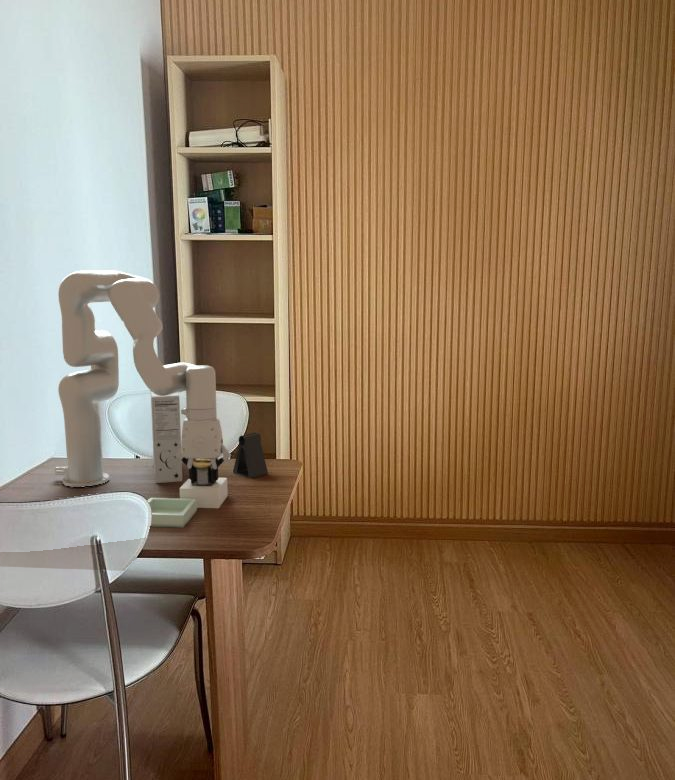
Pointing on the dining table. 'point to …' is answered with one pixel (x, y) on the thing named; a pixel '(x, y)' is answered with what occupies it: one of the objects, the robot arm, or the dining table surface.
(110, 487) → the dining table surface
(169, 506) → the tray
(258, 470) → the black a-frame stand
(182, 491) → the block
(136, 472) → the dining table surface
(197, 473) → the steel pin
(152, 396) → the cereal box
